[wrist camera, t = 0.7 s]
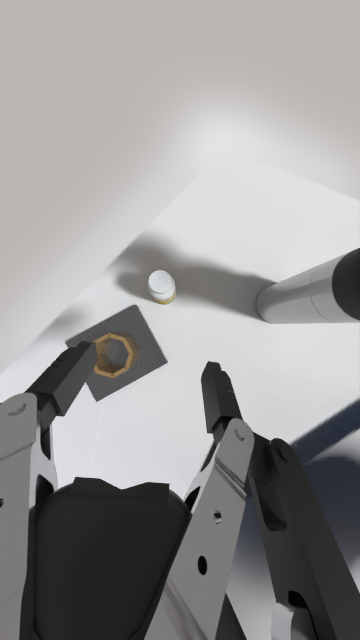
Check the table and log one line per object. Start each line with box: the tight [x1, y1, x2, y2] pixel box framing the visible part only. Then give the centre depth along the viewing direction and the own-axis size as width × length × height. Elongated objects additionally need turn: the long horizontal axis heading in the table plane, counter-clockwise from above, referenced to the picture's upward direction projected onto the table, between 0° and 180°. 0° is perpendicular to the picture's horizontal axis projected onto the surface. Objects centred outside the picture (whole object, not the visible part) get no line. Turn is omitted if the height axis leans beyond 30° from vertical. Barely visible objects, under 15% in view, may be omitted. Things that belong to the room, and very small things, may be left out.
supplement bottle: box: [148, 270, 176, 305], centre depth 30 cm, size 5×5×10 cm
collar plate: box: [66, 305, 168, 402], centre depth 32 cm, size 18×15×4 cm
